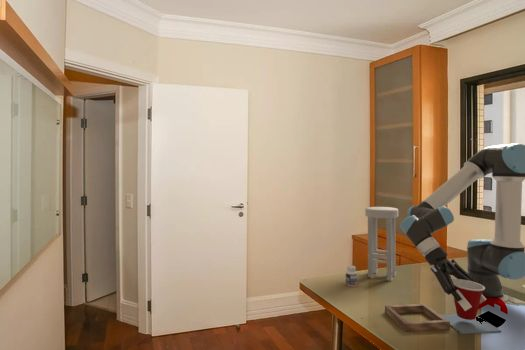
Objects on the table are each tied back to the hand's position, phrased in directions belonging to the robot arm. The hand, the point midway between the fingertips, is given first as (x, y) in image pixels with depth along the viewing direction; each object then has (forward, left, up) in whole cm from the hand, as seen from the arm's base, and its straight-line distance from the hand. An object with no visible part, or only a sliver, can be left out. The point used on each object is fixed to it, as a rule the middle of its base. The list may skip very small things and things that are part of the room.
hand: (476, 305), depth 121 cm
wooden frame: (+18, -8, -8) cm, 21 cm away
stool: (+8, -59, -8) cm, 60 cm away
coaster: (+1, -3, -8) cm, 8 cm away
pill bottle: (+28, -48, -8) cm, 56 cm away
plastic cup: (+2, -3, -5) cm, 6 cm away
